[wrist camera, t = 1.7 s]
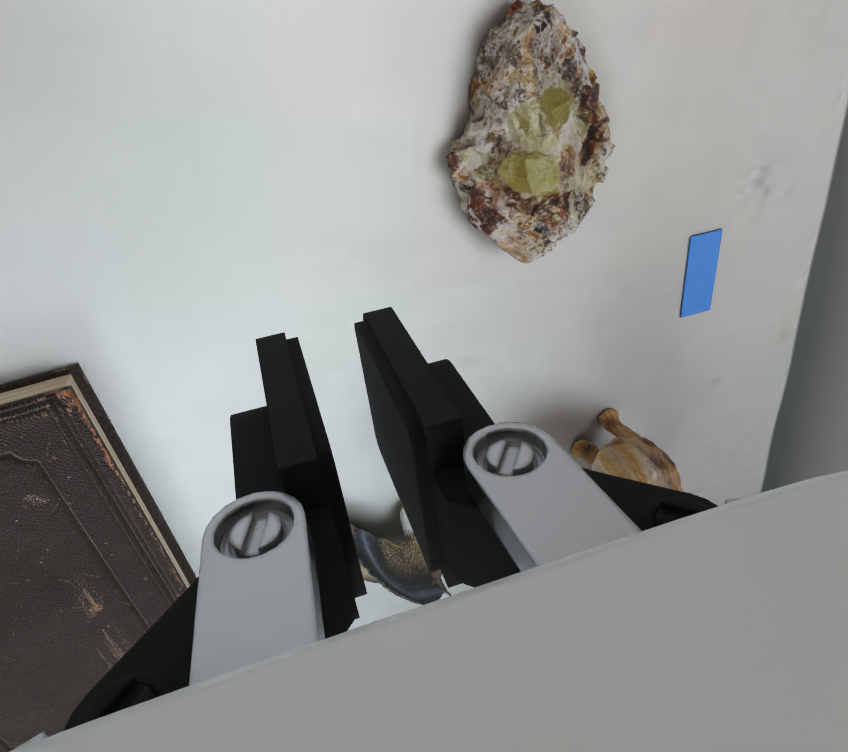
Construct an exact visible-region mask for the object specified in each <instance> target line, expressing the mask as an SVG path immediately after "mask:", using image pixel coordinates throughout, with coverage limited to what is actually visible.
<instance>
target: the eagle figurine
mask: <svg viewBox="0 0 848 752" xmlns="http://www.w3.org/2000/svg"><path fill="white" fill-rule="evenodd" d="M400 519H401V523H402V526H403V530H404V536H405V539H404V540H403V541H402V542H400V543H397V544H394V543H392V542H390V541H389V540H387V539H385V538H376V537H374V536H373V535H372V534H370V533H368V532H367V531H364V530H362V529H356V528H355V527H354V526H353V525H352V524H350V527H351V531H352V535H353V539H354V543H355V547H356V551H357V555H358V559H359V563H360V567H361V571H362V575H363V579H364V580H366V581H368V582H373V583H380V584H382V586H383V587H385V588H387V589H388V590H389V591H390V592H392V593H394V594H395V595H396V596H399V597H401V598H404V599H406V600H409V601H410V602H413V603H417V604H421V605H425V604H428V603H431V602H434V601H437V600H440V599H443V598H446V597H449V596H452V595H451V594H450V593H449V592H447V589H446V587H445V586H444V584H443V582H442V579H441V574H442V572H441V570H438V571H435V572H432V573H431V572H430V571H429V569H428V567H427V564H426V562H425V560H424V557H423V555H422V552H421V550H420V547H419V545H418V542H417V540H416V537H415V535H414V533H413V530H412V528H411V525H410V523H409V520H408V518H407V515H406V513H405V511H404V508H403V506H402V510H401V513H400Z"/></svg>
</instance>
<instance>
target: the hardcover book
mask: <svg viewBox="0 0 848 752" xmlns="http://www.w3.org/2000/svg"><path fill="white" fill-rule="evenodd" d="M196 579H197V578H196V576H195V574H194V572H193V570H192V569H191V567H190V565H189V563H188V561H187V559H186V558H185V556H184V554H183V552H182V550H181V549H180V547H179V545H178V543H177V541H176V540H175V538H174V536H173V534H172V532H171V530H170V529H169V527H168V525H167V523H166V521H165V520H164V518H163V516H162V514H161V512H160V511H159V509H158V507H157V505H156V503H155V501H154V500H153V498H152V496H151V494H150V492H149V491H148V489H147V487H146V485H145V483H144V482H143V480H142V478H141V476H140V474H139V472H138V471H137V469H136V467H135V465H134V463H133V462H132V460H131V458H130V456H129V454H128V453H127V451H126V449H125V447H124V445H123V443H122V442H121V440H120V438H119V436H118V434H117V433H116V431H115V429H114V427H113V425H112V424H111V422H110V420H109V418H108V416H107V414H106V413H105V411H104V409H103V407H102V405H101V404H100V402H99V400H98V398H97V396H96V394H95V393H94V391H93V389H92V387H91V385H90V384H89V382H88V380H87V378H86V376H85V375H84V373H83V371H82V369H81V367H80V365H79V364H76V365H72V366H68V367H65V368H61V369H57V370H54V371H50V372H47V373H43V374H39V375H36V376H32V377H28V378H25V379H21V380H18V381H14V382H10V383H7V384H3V385H0V752H10V751H12V750H13V749H15V748H17V747H18V746H20V745H22V744H23V743H25V742H27V741H28V740H30V739H32V738H33V737H35V736H37V735H38V734H40V733H42V732H44V733H45V734H46V735H47V737H50V736H52V735H55V734H57V733H59V732H61V731H63V730H64V728H65V726H66V724H67V722H68V720H69V718H70V716H71V714H72V712H73V711H74V710H75V708H76V707H77V706H78V704H79V703H80V702H81V701H82V699H83V698H84V697H85V696H86V694H87V693H88V692H89V691H90V690H91V689H92V688H93V687H94V686H95V685H96V684H97V683H98V682H99V681H100V680H101V679H102V678H103V677H104V675H105V674H106V673H107V672H108V671H109V670H110V669H111V668H112V667H113V666H114V665H115V664H116V663H117V662H118V661H119V660H120V659H121V658H122V657H123V656H124V654H125V653H126V652H127V651H128V650H129V649H130V648H131V647H132V646H133V645H134V644H135V643H136V642H137V641H138V640H139V639H140V638H141V637H142V636H143V635H144V634H145V632H146V631H147V630H148V629H149V628H150V627H151V626H152V625H153V624H154V623H155V622H156V621H157V620H158V619H159V618H160V617H161V616H162V615H163V614H164V613H165V612H166V610H167V609H168V608H169V607H170V606H171V605H172V604H173V603H174V602H175V601H176V600H177V599H178V598H179V597H180V596H181V595H182V594H183V593H184V592H185V591H186V589H187V588H188V587H189V586H190V585H191V584H192V583H193V582H194V581H195V580H196Z"/></svg>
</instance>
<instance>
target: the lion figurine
mask: <svg viewBox="0 0 848 752" xmlns="http://www.w3.org/2000/svg"><path fill="white" fill-rule="evenodd" d="M618 417H619V414H618V412H617V411H616V410H615V409H607V410H605V411H604V412H603V413H602V414H601V415H600V417H599V420H600V422H601V424H602V425H603V428H604V429H605V430H607V431H609V432H610V433H612V434H613V435H615V436H616V437H617V438H613V440H612V441H611V442H610V443H609V444H607V445H605V446H604V447H603V448H602V449H601V450H600V451H599V450H598V449H597V447H596V446H595V445H593V444H591V443H589V442H587V441H586V440H579V441H577V442H575V443H574V445H573V447H572V455H573V456H575V457H582V458H584V459H585V460H586V461H587V462H588V463H589V464H590V466H591V467H592V468H591V470H592V471H597V472H601V473H605V474H609V475H614V476H618V477H622V478H626V479H631V480H635V481H639V482H643V483H648V484H652V485H656V486H660V487H665V488H669V489H673V490H677V491H682V492H683V490H682V488H681V480H680V475H679V473H678V471H677V469H676V466H675V464H674V462H672V460H671V459H670V458H669V457H668V455H667V454H666V453H665V452H663V451H662V450H661V449H659V448H658V447H657V446H656V445H655V444H654V443H653V442H651V441H650V440H648V439H646V438H644V437H641V436H640V435H638V434H637V433H635V432H634V431H632V430H631V429H629V428H628V427H626V426H625V425H623V424H622V423H621V422H620V421H619V418H618Z"/></svg>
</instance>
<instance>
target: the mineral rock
mask: <svg viewBox="0 0 848 752" xmlns="http://www.w3.org/2000/svg"><path fill="white" fill-rule="evenodd" d="M577 34H578V32H576V31H574V30H571V28H569V27H568V26H567V25H566V22H565V19H564V16H563V15H562V14H560V12H559V11H558V10H557V9H556V7H555V6H554V4H552V5H549V6H547V5H543V4H542V3H541V2H540V1H539V0H535V1H534V2H532V3H531V4H525V3H523V2H521V1H520V0H516V1H515V2H513V3H512V4H511V6H510V8H509V9H508V11H507V12H506V16H505V21H504V23H503V24H500V25H498V26H497V27H495V28H492V29H491V30H490V33H489V35H488V37H487V39H486V40H485V41H484V42H483V43H482V45H481V47H480V50H479V52H478V56H477V59H476V73H475V74H474V75H473V77H472V79H471V83H470V86H469V109H470V119H469V121H468V123H467V125H465V131H464V134H463V135H462V137H461V138H460V139H456V140H452V142H451V147H450V151H449V153H448V155H447V159H448V160H449V161H447V162H448V167H449V168H450V169H451V179H452V180H453V186H454V187H455V188H456V190H457V193H458V195H459V196H460V198H461V202H462V203H461V206H460V208H461V209H462V210H463V211H464V212H465V214H466V215H467V216H468V220H469V222H470V223H471V224H472V225H473V226H474V227H475V228H477V229H479V230H481V231H483V232H484V233H486V234H487V235H488V236H489V237H490V238H491V239H493V240H494V242H495V244H496V245H497V246H498V247H499V248H501V249H502V250H504V251H505V252H507V253H508V254H510V255H511V256H512V257H514V258H515V259H517V260H518V261H520V262H522V263H532V262H534V261H535V260H536V259H538V258H540V257H541V256H544V255H545V253H546V251H547V250H548V251H551V250H552V247H554V246H556V242H557V241H558V240H561V239H562V238H563V237H565V236H567V235H568V234H572V233H574V232H575V231H576V229H577V228H578V226H579V225H580V222H581V221H582V220H583V219H584V218H583V217H584V216H585V215H586V214H587V213H588V211H589V209H590V208H591V207H592V206H593V202H595V201H594V199H593V188H594V186H595V184H596V183H598V182H602V183H604V181H605V179H606V177H607V174H608V168H607V167H606V166H605V163H604V161H605V160H606V159H607V158H608V157H609V156H610V155H611V153H612V152H613V149H614V147H615V145H614V144H613V143H612V142H611V139H610V130H609V126H608V123H609V120H610V119H609V117H608V115H607V113H606V112H605V108H604V106H602V105H600V104H601V102H600V101H599V98H598V96H599V84H598V83H596V79H597V77H596V75H595V73H594V71H593V70H591V69H590V67H589V66H588V65H587V63H586V61H585V51H586V50H585V47H584V46H583V45H582V44H581V42H580V41H579V39H577V38H576V35H577Z"/></svg>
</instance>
